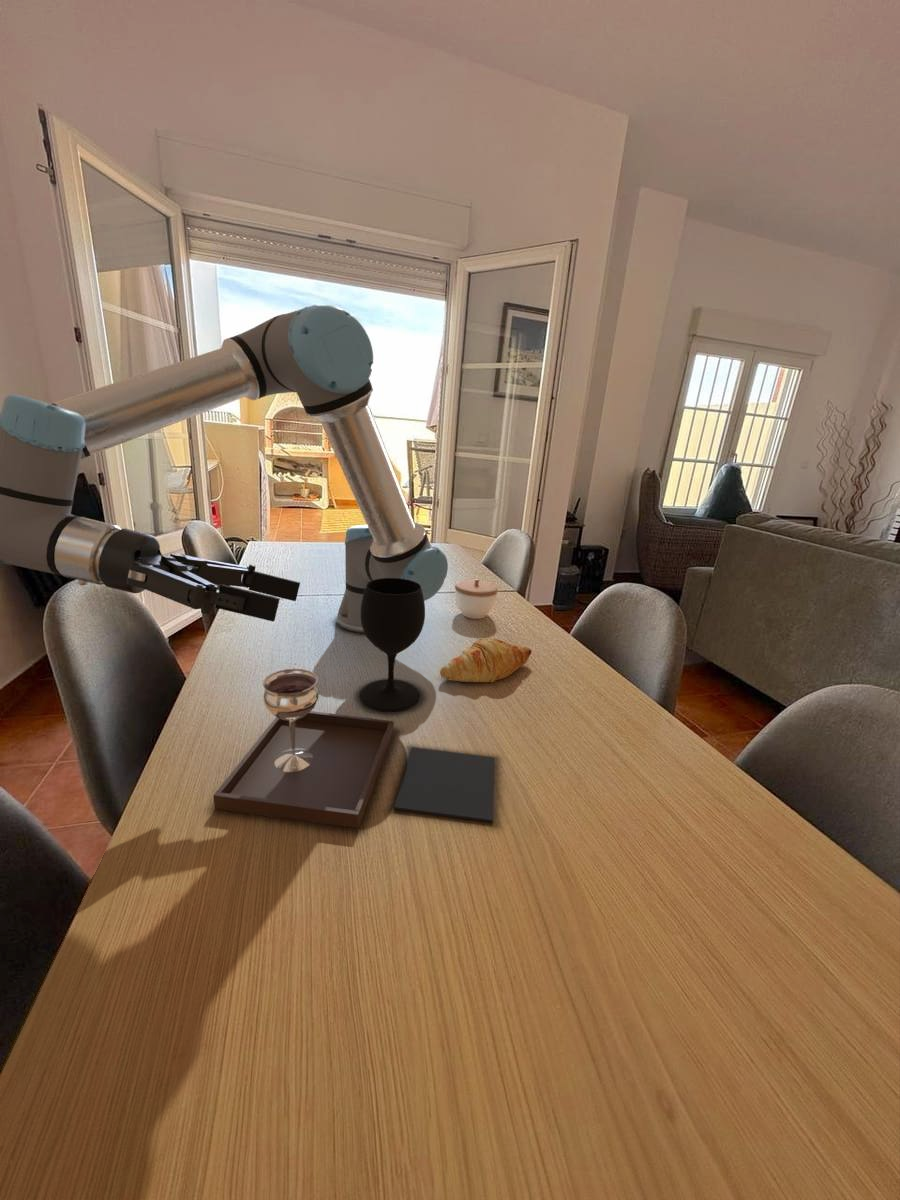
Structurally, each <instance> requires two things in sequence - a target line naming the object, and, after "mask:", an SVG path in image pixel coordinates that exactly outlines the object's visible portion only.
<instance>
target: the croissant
mask: <svg viewBox="0 0 900 1200" xmlns="http://www.w3.org/2000/svg"><path fill="white" fill-rule="evenodd" d="M531 655H532V649H530V648H529V647H527V646H524V647H523V646H521V645H515V644H511V643H509V642H505V641H503V640H501V639H497V638H492V637H487V638H480V639H478V640H475V641H474V642H473V643H472V644H471V646H470V647H466V648H465V649H464V650H463V651H462V653H461V654H460V655H459V656H457V657H454V658H452V659H451V660H450V662H449V663H448V664H447V665H445V666H442V667H441V668H440V670H439V675H440V677H441V678H443V679H445V680H448V681H455V682H461V683H489V682H490V683H494V682H496V681H498V680H503V679H505V678H507V677H509V676H511V675H512V674H513V673H514V672H515V671H517V670H518V669H520V668H521V667H522V666H524V665H525V664H526V663H527V662H528V660H529V658H530V656H531Z"/></svg>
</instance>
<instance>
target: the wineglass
mask: <svg viewBox="0 0 900 1200" xmlns="http://www.w3.org/2000/svg"><path fill="white" fill-rule="evenodd" d="M318 681H319V680H318V675H316V673H315V672H313V671H311V670H309V669H308V670H307V669H304V668H287V669H286V668H285V669H281V670H277V671H275V672H272V673H270V674H269V675H267V676H266V677H265V678H264V679H263V680H262V687H263V689H264V690H263V697H262V701H263V704H264V706H265V708H266V710H267V712H268V713H269V714H271V715H272V716H274V717H275V718H276V717H277V718H279V719H282V720H287V721H289V724H290V735H291V745H292V749H289V750H286V751H284V752H282V753H280V754H279V755H278V756H277V757H276V759H275V766H276V768H278V769H279V770H281V771H285V772H295V771H299V770H302V769H304V768H306V767H308V766H309V765H310V764H311V763H312V760H313V755H312V754H311V752H309V751H308V750H305V749H301V748H295V721H296V720H297V719H300V718H302V717H304V716H305V715H306V714H308V713H309V712H310V711H313V710H314V709H315V707H316V705H317V703H318V701H319V697H320V696H319V695H320V694H319V688H318V686H317V683H318Z"/></svg>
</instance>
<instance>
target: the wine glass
mask: <svg viewBox="0 0 900 1200" xmlns="http://www.w3.org/2000/svg"><path fill="white" fill-rule="evenodd" d="M425 620H426V604H425V601H424V597H423V592H422V588H421V586H420V585H419V584H418V583H416V582H414V581H411V580H407V579H400V578H382V579H376V580H373V581H370V582H368V583H367V585H366V588H365V591H364V594H363V598H362V603H361V624H362V628H363V631H364V633H363V634H364V635H365V636H366V638H367V640H368V641H369V642H370V643H371V644H372V645H373V646H374V647H375V648H376V649H378V650H379V651H380V652H383V654H385V655H386V658H387V679H379V680H374V681H371V682H370V683H368V684H366V685H365V686H363V688H362V689H361V690H360V693H359V700H360V702H361V703H362V704H363V705H364V706H366V707H367V708H369V709H371V710H374V711H377V712H382V713H398V712H402V711H406V710H408V709H412V708H413V707H414V706H416V705H417V704H418V703H419V701H420V698H421V693H420V691H419V689H418V687H416V686H415V685H414V684H412V683H410V682H408V681H405V680H400V679H394V678H395V663H396V658H397V655H398V654H400V653H401V652H404V651H405V650H407V649H408V648H410V646H412V645H413V644H414V643H415V642H416V640H417V639H418V638H419V637H420V635H421V633H422V630H423V627H424V624H425Z"/></svg>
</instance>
